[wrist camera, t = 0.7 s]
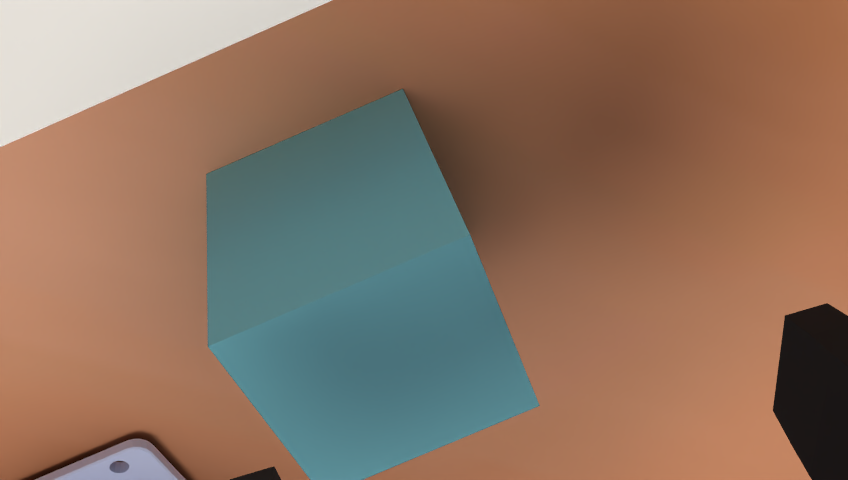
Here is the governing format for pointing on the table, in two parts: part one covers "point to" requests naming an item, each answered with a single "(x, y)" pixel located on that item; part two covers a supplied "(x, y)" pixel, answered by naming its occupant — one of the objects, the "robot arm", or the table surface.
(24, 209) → the table surface
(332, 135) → the teal block
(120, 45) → the cream base plate
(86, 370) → the table surface
